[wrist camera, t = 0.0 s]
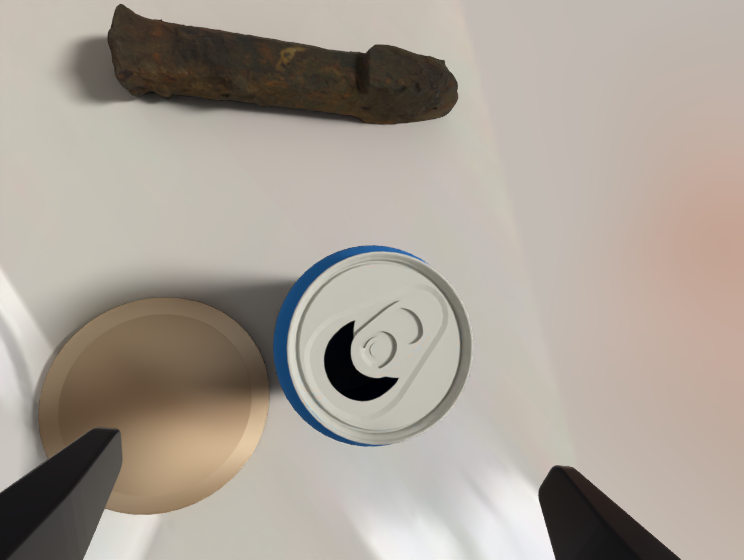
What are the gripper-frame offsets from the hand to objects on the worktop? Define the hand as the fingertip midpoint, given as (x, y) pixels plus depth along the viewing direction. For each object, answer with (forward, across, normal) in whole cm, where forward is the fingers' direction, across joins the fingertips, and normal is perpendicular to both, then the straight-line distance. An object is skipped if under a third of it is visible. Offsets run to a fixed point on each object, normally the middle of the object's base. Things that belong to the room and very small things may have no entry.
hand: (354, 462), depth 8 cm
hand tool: (+22, +4, -6) cm, 23 cm away
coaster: (+11, +8, +10) cm, 17 cm away
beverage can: (+14, -1, +6) cm, 15 cm away
